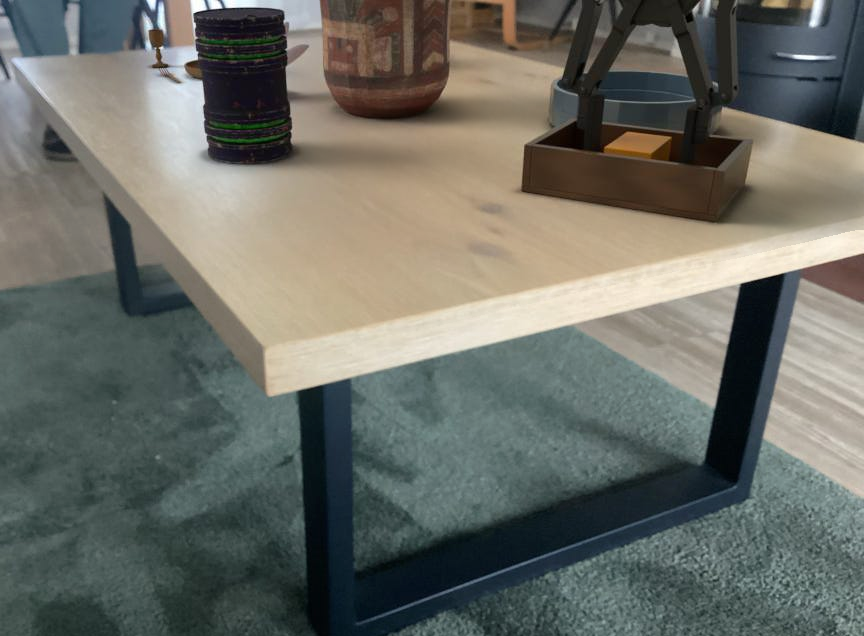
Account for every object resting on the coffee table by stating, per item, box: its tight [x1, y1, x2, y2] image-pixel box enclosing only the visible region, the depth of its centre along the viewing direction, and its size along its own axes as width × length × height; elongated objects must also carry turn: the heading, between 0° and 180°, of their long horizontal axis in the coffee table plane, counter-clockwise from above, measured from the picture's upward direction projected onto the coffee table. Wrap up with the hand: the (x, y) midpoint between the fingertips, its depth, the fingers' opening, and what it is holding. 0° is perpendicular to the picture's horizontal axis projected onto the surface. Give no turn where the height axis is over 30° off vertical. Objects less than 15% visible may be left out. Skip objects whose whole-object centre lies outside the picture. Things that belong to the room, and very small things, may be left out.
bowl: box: [547, 69, 724, 135], centre depth 107 cm, size 20×20×5 cm
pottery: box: [319, 0, 453, 119], centre depth 114 cm, size 18×18×18 cm
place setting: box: [148, 28, 202, 83], centre depth 144 cm, size 18×20×6 cm
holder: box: [520, 118, 754, 223], centre depth 84 cm, size 19×13×5 cm
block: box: [604, 132, 672, 162], centre depth 84 cm, size 4×7×4 cm, turn 148°
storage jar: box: [192, 6, 294, 165], centre depth 95 cm, size 10×10×15 cm
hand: (635, 169), depth 85 cm, fingers open, 9 cm apart
